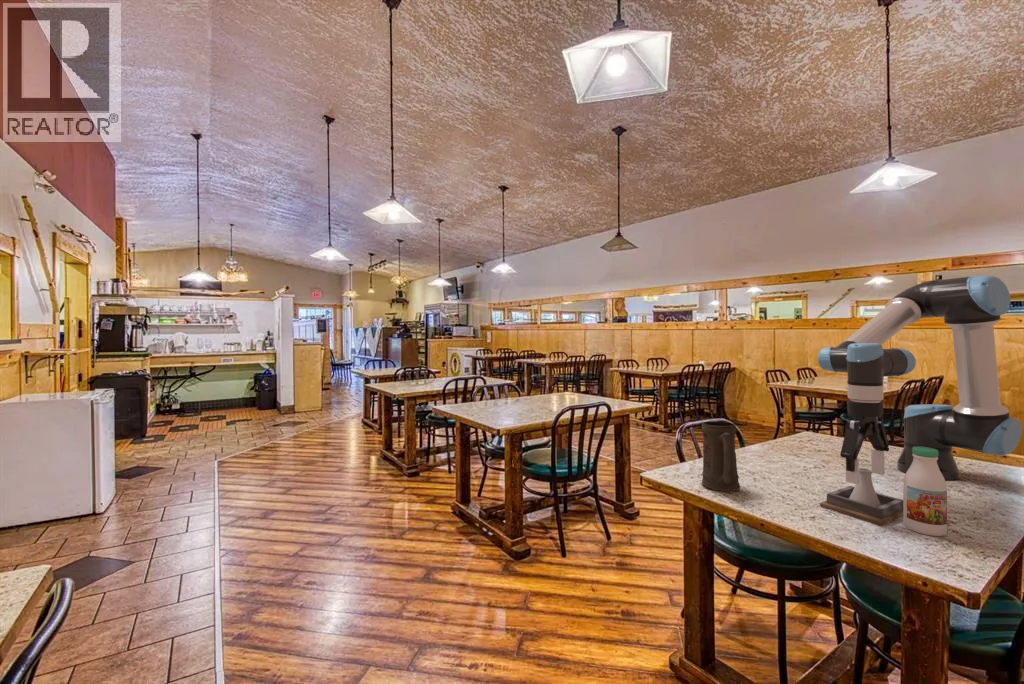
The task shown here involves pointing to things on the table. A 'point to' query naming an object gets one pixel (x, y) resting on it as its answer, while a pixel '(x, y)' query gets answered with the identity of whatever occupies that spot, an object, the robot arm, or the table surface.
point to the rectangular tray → (864, 507)
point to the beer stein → (719, 456)
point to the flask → (865, 489)
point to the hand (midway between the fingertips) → (865, 478)
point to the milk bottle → (925, 494)
